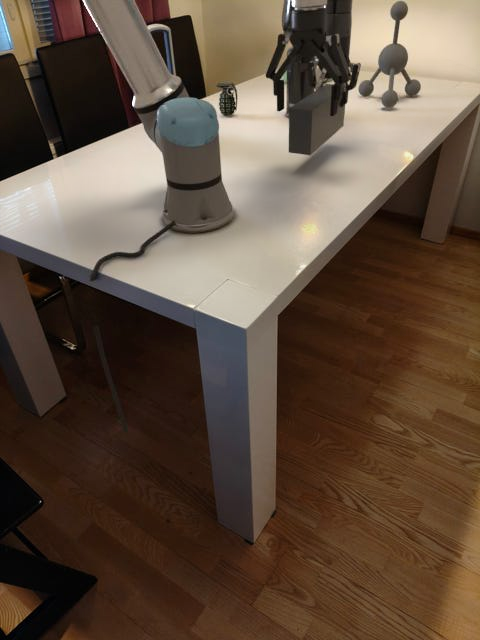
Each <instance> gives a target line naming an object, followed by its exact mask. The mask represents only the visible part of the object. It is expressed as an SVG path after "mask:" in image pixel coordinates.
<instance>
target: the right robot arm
mask: <svg viewBox="0 0 480 640" xmlns="http://www.w3.org/2000/svg"><path fill="white" fill-rule="evenodd" d="M353 2H354V1H353V0H327V4H326V5H325V6H324V8H326V10H327V17H326V34H327V35H334V34H336V33H339V34H340V45H341V48H342V51H343V53H344V56H345V59H346V62H347V65H348V67H349V70H350V73H351V76H352V79H351V80H350V81H348V82H347V83H343V91H342V98H341V103H340V107H344V106H345V107H346V105H347V103H348V102H349V101H348V100H349V91H352V90H354V89H355V88H356V87H357V84H358V81H359V80H358V79H359V76H360V71H361V67H362V64H361V63H360V62H357V63H356V62H351V60H350V50H351V40H352V39H351V37H352V26H353V17H352V12H353ZM292 10H294V7H292V6H291V0H283V5H282V11H281V28H282V31H283V33H284V32H285V33H287V34H289V35H291V33H292V29H291V12H292ZM324 48H325V49H326V51H327V53H328V56H329V57H330V59H331V60H332V62H333V63H334V65H335V66H336V68H337V69H338V71H339V68H338V65H337V62H336V60H335V57H334V54H333V52H332V48H331V46H330V45H329V43H328V42H326V44H325V45H324ZM292 49H293V46H292V45H291V47H288V48H287V51H286V58H287V57H288V55H289V53H290V52H291V50H292ZM317 66H318V67H319V69H320V70H321V75H320V77H319V79H318V82H316V71H315V70H316V69H317ZM339 72H340V71H339ZM340 74H341V73H340ZM329 79H332V78H331V77H330V75H329V74H328V72H327V71H326V69H325V67H324V66H323V64H322V63H321V61H320V60H318V61H316V56H315V57H313V58H312V57H307V56H305V57H300V56H299V55H298V56H297V57H296V58H295V60H294V61H293V63H292V64H291V65H290V67H289V68H288V69H287V82H286V95H285V96H286V100H285V101H286V103H285V108H286V109H285V116H286V117H287V118H289V108H290V107H292V106H293V105H295V104H296V103H298V102H299V101H301V100H302V99H304V98H305V97H307V96H308V95H310V94H311V93H313V92H314V91H316V90H318V89H319V88H321V87H322V86H324V85H325V84H326V83H327V82H328V80H329Z"/></svg>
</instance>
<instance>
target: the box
mask: <svg viewBox="0 0 480 640" xmlns="http://www.w3.org/2000/svg"><path fill="white" fill-rule="evenodd" d="M333 84H334V83H324V84H323V86H322V87H321V88H319V89H318V90H316V89H315V90H314V92H313V93H311V94H310V95H308V96H307V97H305V98H304V99H302V100H301V101H299V102H298V103H296V104H295V105H293V106H292V107H290V108H289V117H288V153H289V154H299V155H305V156H312V155H313V154H314V153H315V152H316V151H317V150H318V149H320V148H321V147H322V146H323V145H324V144H325V143H326V142H327V141H329V140H330V139H331V138H332V137H333V136H335V134H336V133H337V132H339V131H340V130H341V129H342V128H343V127H344V125H345V113H346V105H345V106H344V107H340V103H341V99H340V100H338V107H337V113H336V114H335V115H334V116H330V108H331V90H332V85H333Z"/></svg>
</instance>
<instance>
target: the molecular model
mask: <svg viewBox="0 0 480 640" xmlns="http://www.w3.org/2000/svg"><path fill="white" fill-rule="evenodd" d="M389 13H390V14H389V15H390V17H391V19H392V20H393V21H395V23H394V31H393V36H392V37H393V38H392V43H389V44H387V45H386V46H384V47H383V48H382V50H381V51H380V53H379V55H378V59H377V64H378V67H377V69H376V70H375V72H374V74H373V75H372V76H371V78H370V79H365V80H362V81H361V82H360V83H359V85H358V94H359V95H360V96H362V97H365V98H367V97H369V96H371V95H372V94H373V93H374V90H375V86H374V82H375V80H376V79H377V78H378V76H379V75H380V74H381V72H382V73H383V74H385V76H389V79H388V89H387V90H385V91H384V92H383V93H382V95H381V98H380V102H381V104H382V106H383V107H385V108H388V109H389V108H393V107H394V106H396V105H397V103H398V101H399V94H398V92H397V91H396V90H394V84H395V83H394V82H395V76H396V75H399V74H402V76H403V78H404V80H405V82H406V83H405V86H404V93H405V94H406V95H407V96H409V97H414V96H416V95H418V94H419V93H420V91H421V88H422V85H421V83H420V81H419V80H418V79H411V77H410V75H409V74H408V72H407V70H406V67H407V64H408V60H409V53H408V50H407V48H406V47H405V46H404V45H403V44H401V43H398V39H399V32H400V26H401V25H400V24H401V21H403V20H404V19H405V18H406V16H407V15H408V13H409V7H408V4H407V3H406V2H405V1H403V0H398V1H396V2H394V3H393V4H392V6H391V7H390V12H389Z"/></svg>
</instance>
